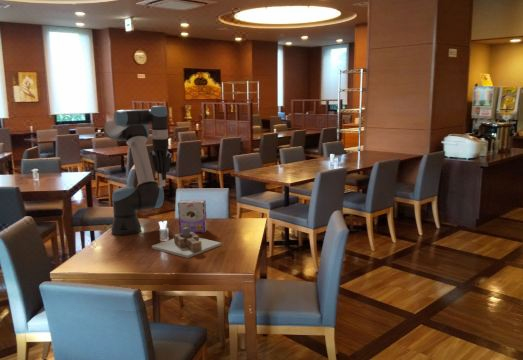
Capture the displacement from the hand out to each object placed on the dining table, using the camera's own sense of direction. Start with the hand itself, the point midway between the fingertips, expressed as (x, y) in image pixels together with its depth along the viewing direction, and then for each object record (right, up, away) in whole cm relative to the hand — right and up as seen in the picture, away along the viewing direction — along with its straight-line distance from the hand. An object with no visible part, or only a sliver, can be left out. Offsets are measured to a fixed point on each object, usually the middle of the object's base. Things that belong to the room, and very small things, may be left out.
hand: (162, 186), depth 228 cm
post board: (+13, -29, -9) cm, 33 cm away
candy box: (+13, -24, +17) cm, 32 cm away
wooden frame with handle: (+15, -28, -13) cm, 34 cm away
